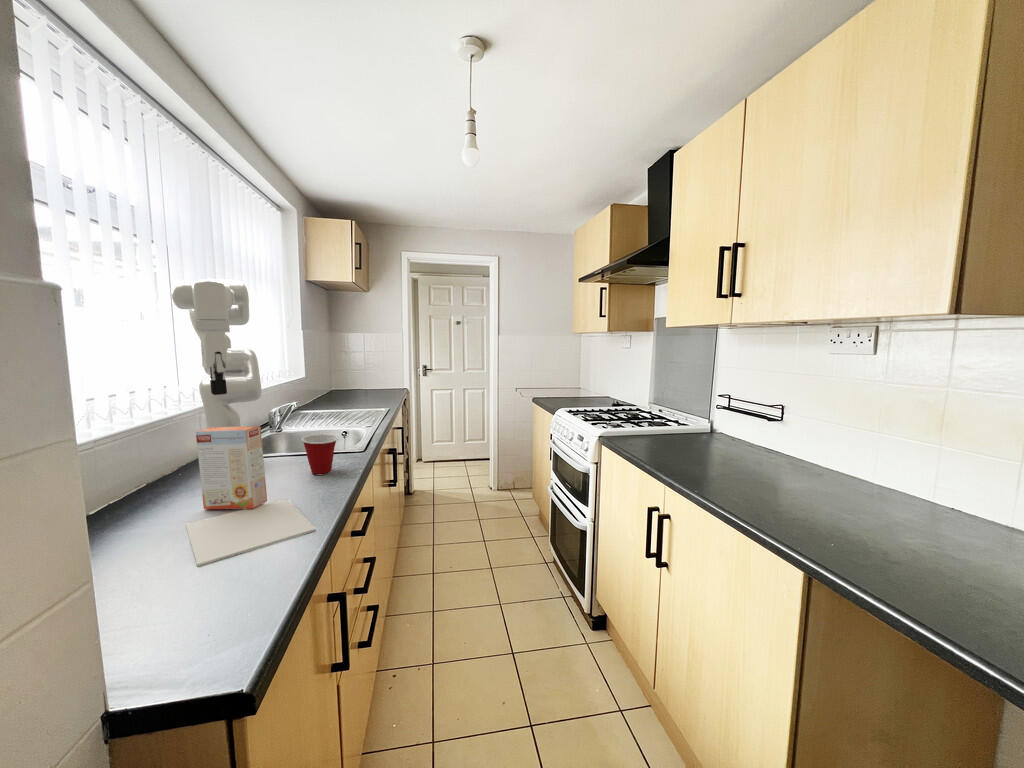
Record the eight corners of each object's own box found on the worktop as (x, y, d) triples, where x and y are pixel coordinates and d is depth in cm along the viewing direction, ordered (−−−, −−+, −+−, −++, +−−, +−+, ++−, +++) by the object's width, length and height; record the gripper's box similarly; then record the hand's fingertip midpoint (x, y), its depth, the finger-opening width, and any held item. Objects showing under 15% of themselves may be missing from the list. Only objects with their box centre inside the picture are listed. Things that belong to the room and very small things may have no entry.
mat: (185, 525, 99) (185, 524, 99) (287, 500, 114) (287, 498, 114) (197, 566, 82) (197, 564, 82) (315, 530, 96) (315, 528, 96)
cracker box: (268, 501, 113) (261, 425, 111) (252, 510, 107) (245, 429, 105) (221, 501, 114) (213, 426, 112) (202, 510, 108) (194, 430, 106)
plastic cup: (330, 478, 132) (328, 441, 130) (297, 478, 132) (294, 441, 131) (345, 467, 142) (343, 433, 141) (314, 467, 143) (312, 433, 141)
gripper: (192, 327, 117) (199, 392, 119) (199, 326, 105) (206, 398, 107) (224, 327, 122) (230, 390, 124) (234, 326, 110) (240, 395, 112)
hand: (219, 393), depth 116 cm, fingers closed
